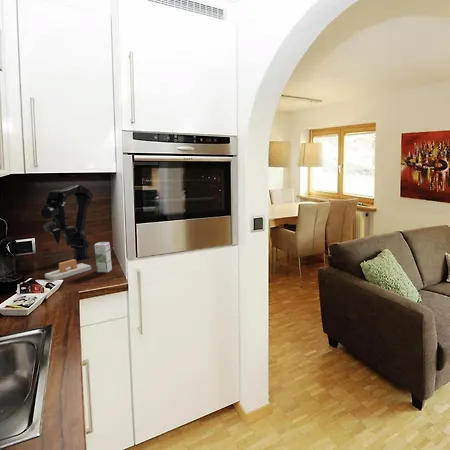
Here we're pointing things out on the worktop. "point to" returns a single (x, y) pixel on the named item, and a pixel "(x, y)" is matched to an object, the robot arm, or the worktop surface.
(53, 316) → the worktop surface
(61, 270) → the clip
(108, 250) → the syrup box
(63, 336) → the worktop surface
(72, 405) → the worktop surface
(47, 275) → the rail
